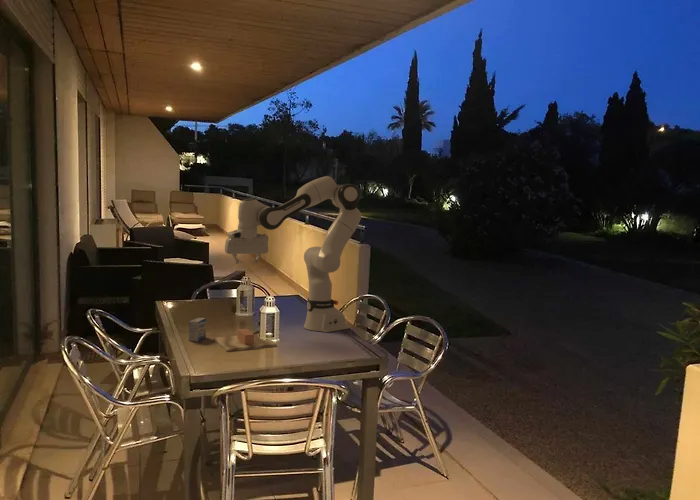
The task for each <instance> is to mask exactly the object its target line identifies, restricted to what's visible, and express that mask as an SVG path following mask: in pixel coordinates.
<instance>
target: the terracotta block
mask: <svg viewBox="0 0 700 500" xmlns="http://www.w3.org/2000/svg"><path fill="white" fill-rule="evenodd" d="M236 332H237V333H236V336H237V339H238V340H240V341H241V342H242V343H243V344H245V345H247V344H254V334H255V333H253V332H251V331H250V330H249V329H248V328H240V329H237V331H236Z"/></svg>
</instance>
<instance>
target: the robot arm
mask: <svg viewBox="0 0 700 500" xmlns="http://www.w3.org/2000/svg"><path fill="white" fill-rule="evenodd" d="M326 200H328V201H329V203H331V205H332V206H333V207H335V208H336V209H339V213H338V215H337V217H335V219H334V221H333V222H332V223H331V225H330V227H329V228H328V229H327V231H326V232H325V239H324V241H323V244H322V245H321V246H311V247H308V248H307V249H306V250H305V252H304V254H303V261H304V263H305V266H306V270H307V277H308V298H307V302H306V308H307V312H306V318H305V321H304V325H303V329H306V330H309V331H314V332H315V331H316V332H324V333H329V332H336V331H341V330H342V331H343V330H347V329H350V328H351V326H350V324H349V323H347V322H346V317H345V314H344V313H343V312H341V311H340V310H339V309H338V308H337V307H335V306H338V304H339V301H338V300H336V299H335V300H334V299H332V292H333V291H332V289H333V288H332V287H333V284H332V281H331V278H330V274H331V273H334V272H336V271H338V270H339V269H340V266H341V256H342V253H343V251H344V249H345V247H346V245H347V243H348V242H349V240H350V239H351V238H352V236H353V234H354V233H355V232H356V230H357V228H358V226H359V224H360V221H361V219H362V212H361V211H360V210H359V209H358V207H359V203H360V190H359V188H358V187H357V186H356V185H355V184H353V183H345V184H342V185H338V184H337V183H336V181H335V180H334V179H333V178H332V177H331V176H328V175H325V176H322V177H318V178H316V179H313V180H311V181H309V182H307V183H305V184H304V185H302V186H301V187H299V188H298V189H297V192H296V195H295V196H294V198H292V199H290V200H289V201H287V202H285V203H283V204H281V205H278V206H275V207H274V206H273V207H272V206H268V205H266V204H263V203H261V202H260V201H259V200H258V199H257V198H245V199H243V200H241V201H240V202H239V205H238V212H237V219H238V225H237V229H235V230H231V231H229V232H227V238H226V240H225V244H224V252H225V254H227V255H232V258H233V259H234V264H236V265H237V264H239V262H240V260H239V259H238V258H237V256H238V255H247V254H248V255H250V254H251V255H253V254H255V255H256V258H254V259H253V263H254V264H258V263H259V260H260V258H261V256H262V254H268V253H269V236H268V235H267V234H266V233H258V227H259V226H262V227H263V228H264V229H266V230H271V231H273V230H276V229H278V228H279V227H280V226H281V225H282V224H283V223H284V221H285V220H287V219H288V218H290V217H292V216H293V215H295V214H297V213H298V212H299V213H300V212H301V211H302V210H304V209H309V208H311V207H314V206H316V205H318V204H320V203H322V202H324V201H326Z"/></svg>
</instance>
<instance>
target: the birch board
mask: <svg viewBox="0 0 700 500" xmlns="http://www.w3.org/2000/svg"><path fill="white" fill-rule="evenodd" d="M253 334H254V344H247V345H245V344H243V343H242V342H241V341H240V340H238V339H237V335H231V336H230V335H229V336H221V337H220V336H219V337H213V342H215V343H216V344H217V345H218V346H219V347H220V348H222V349H223V350H224V352H226V353H227V352H235V351H244V350H246V349H247V350H254V349H255V350H256V349H264V348H273V347H277V346H278V344H277V342H274V340H272V339H270V340H263V339H260V338H259V334H260V333H253Z"/></svg>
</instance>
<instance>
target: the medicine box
mask: <svg viewBox="0 0 700 500" xmlns="http://www.w3.org/2000/svg"><path fill="white" fill-rule="evenodd" d="M206 337H207V318H205V317H196V318H194V319H192V320H190V321H188V342H189V341H190V342H200V341H202V340H204V339H205V338H206Z"/></svg>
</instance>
